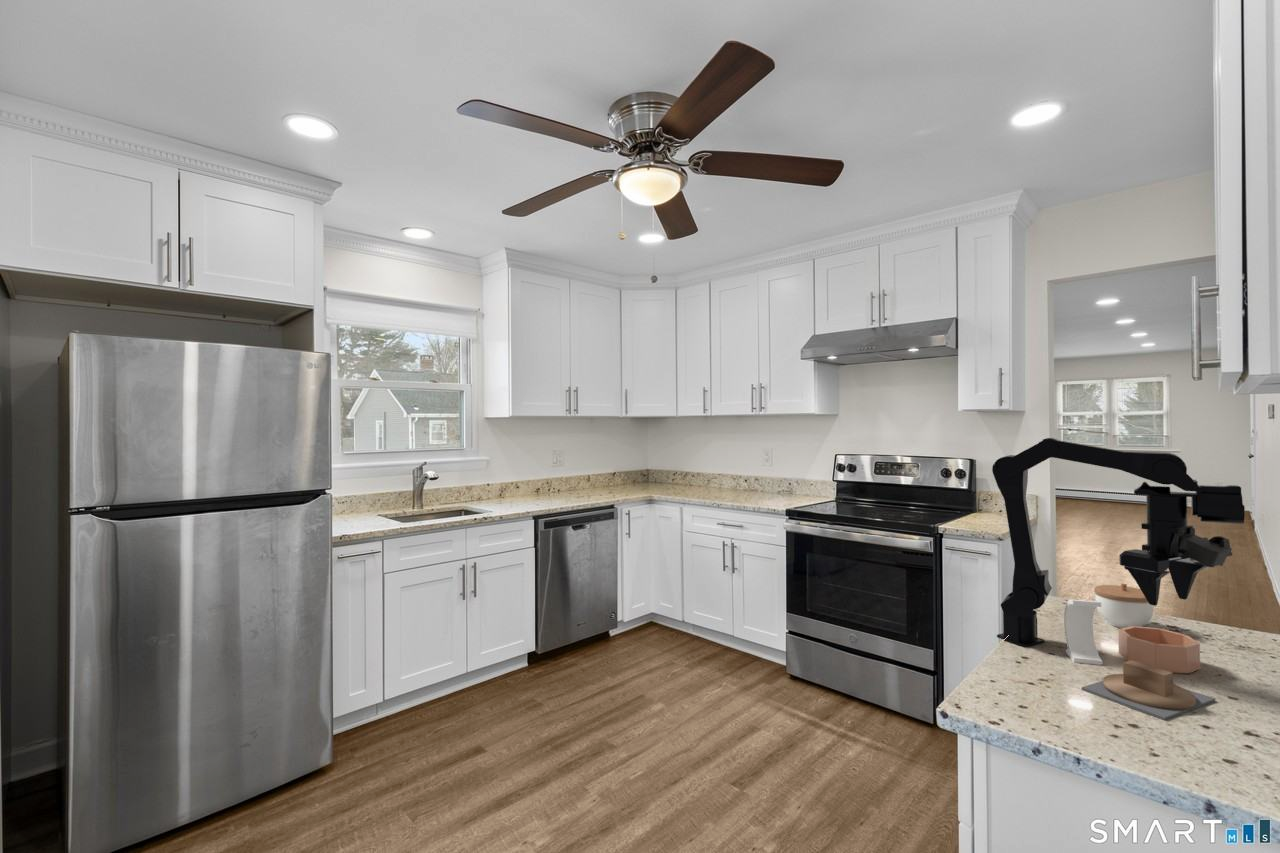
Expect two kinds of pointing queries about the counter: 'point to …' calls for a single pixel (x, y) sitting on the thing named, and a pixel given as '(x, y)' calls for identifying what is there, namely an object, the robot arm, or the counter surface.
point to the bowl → (1159, 648)
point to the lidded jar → (1123, 605)
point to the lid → (1149, 687)
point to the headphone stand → (1081, 631)
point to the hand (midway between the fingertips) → (1168, 602)
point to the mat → (1156, 712)
